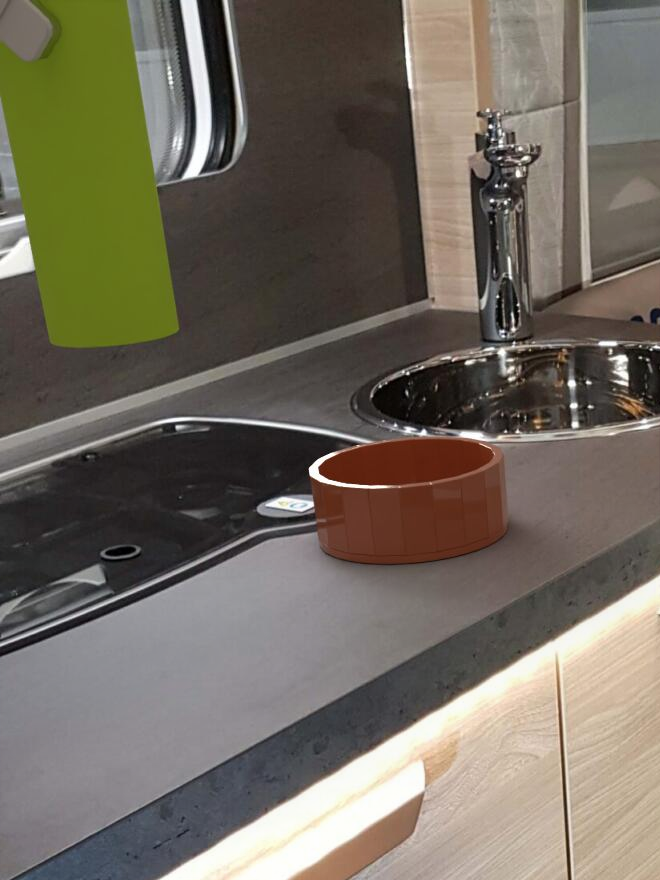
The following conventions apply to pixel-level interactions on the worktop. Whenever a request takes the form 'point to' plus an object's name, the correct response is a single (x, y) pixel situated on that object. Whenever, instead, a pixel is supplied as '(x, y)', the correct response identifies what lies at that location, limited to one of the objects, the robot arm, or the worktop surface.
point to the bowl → (410, 499)
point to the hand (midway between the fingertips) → (82, 42)
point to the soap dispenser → (89, 181)
